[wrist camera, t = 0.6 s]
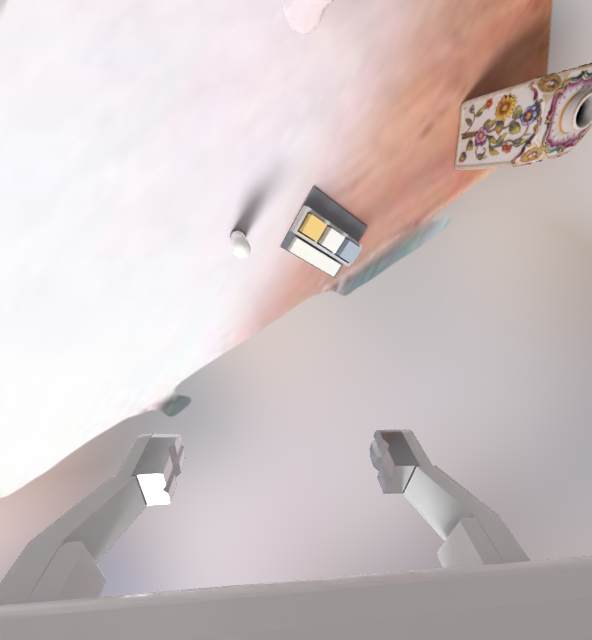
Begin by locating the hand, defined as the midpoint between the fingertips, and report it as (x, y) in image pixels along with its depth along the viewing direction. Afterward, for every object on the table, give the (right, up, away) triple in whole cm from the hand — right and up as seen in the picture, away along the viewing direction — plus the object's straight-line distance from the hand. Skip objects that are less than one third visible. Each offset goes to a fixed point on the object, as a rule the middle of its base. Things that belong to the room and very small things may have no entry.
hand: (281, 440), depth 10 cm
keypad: (+7, +23, +43) cm, 49 cm away
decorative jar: (+39, +44, +41) cm, 72 cm away
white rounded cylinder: (-11, +22, +38) cm, 45 cm away
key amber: (+3, +24, +39) cm, 46 cm away
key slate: (+11, +21, +43) cm, 49 cm away
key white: (+7, +22, +41) cm, 47 cm away
